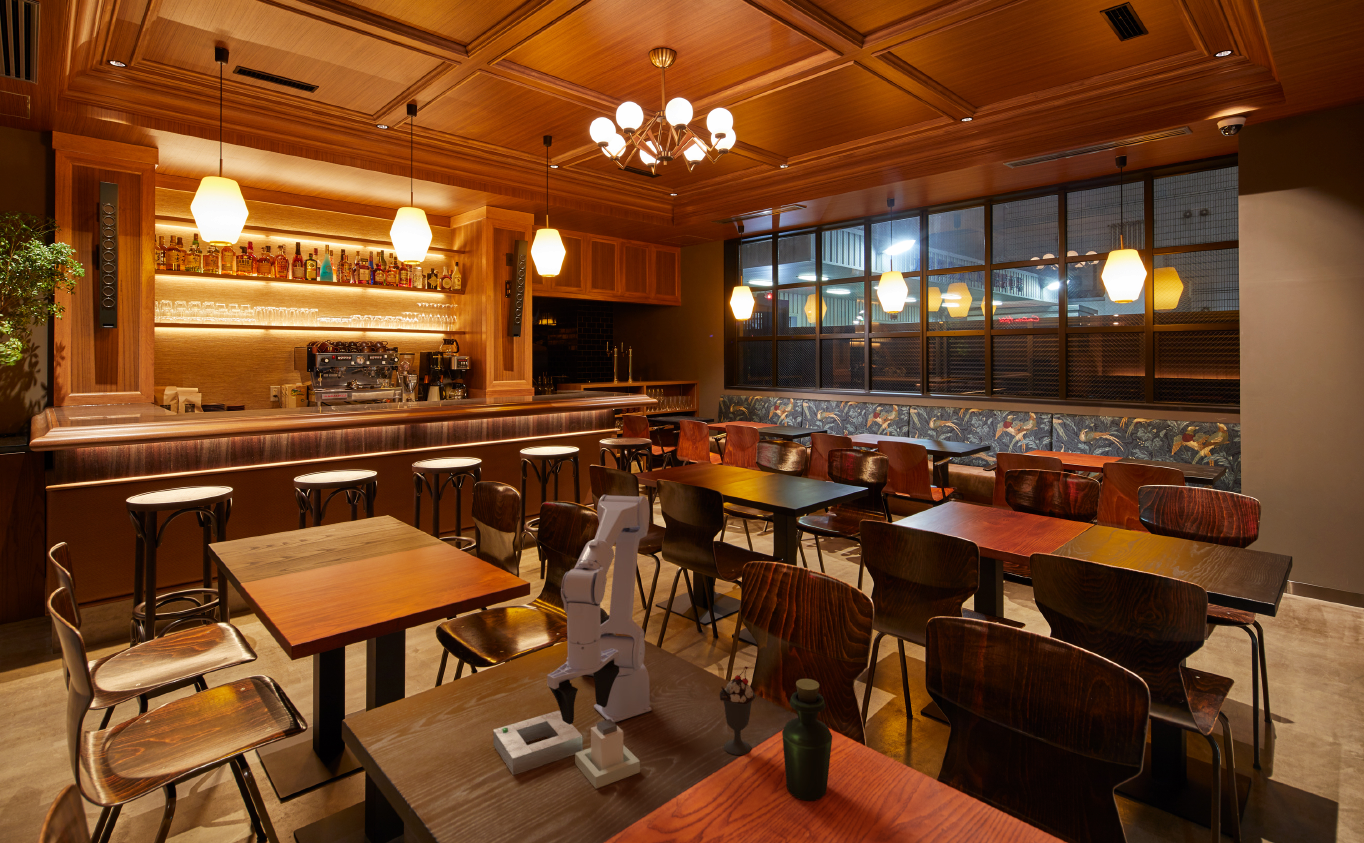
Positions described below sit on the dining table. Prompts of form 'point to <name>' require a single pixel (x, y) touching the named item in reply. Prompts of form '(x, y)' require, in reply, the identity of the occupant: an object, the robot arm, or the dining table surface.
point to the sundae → (737, 712)
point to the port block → (527, 757)
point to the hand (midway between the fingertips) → (585, 713)
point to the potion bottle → (807, 744)
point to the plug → (606, 745)
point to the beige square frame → (610, 774)
